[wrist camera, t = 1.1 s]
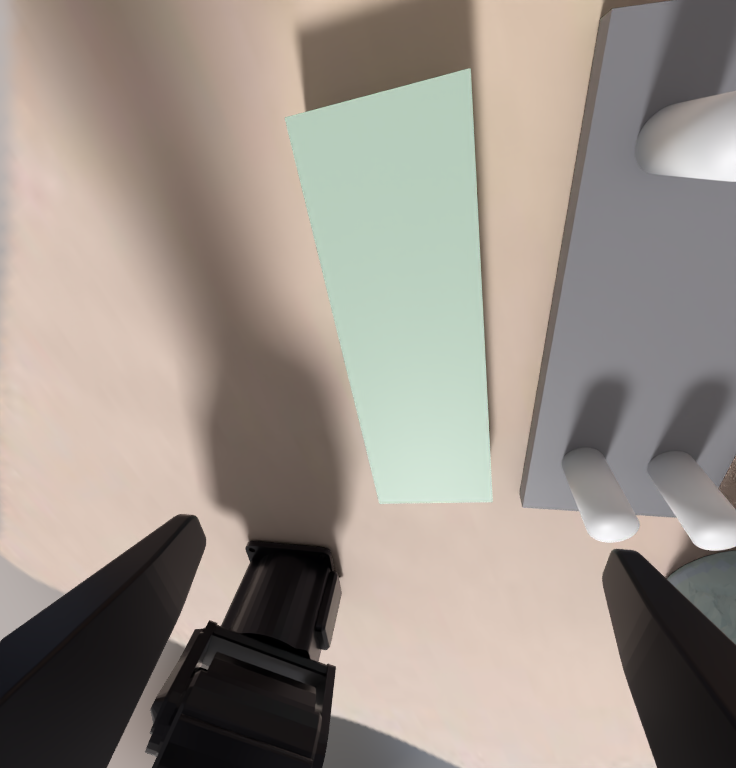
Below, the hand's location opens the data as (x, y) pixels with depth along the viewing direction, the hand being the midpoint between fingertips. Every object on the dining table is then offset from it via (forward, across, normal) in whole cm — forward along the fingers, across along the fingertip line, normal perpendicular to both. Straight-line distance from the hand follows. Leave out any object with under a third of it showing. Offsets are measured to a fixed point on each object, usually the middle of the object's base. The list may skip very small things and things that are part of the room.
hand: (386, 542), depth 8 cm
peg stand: (+12, -10, 0) cm, 16 cm away
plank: (+12, 0, 0) cm, 12 cm away
